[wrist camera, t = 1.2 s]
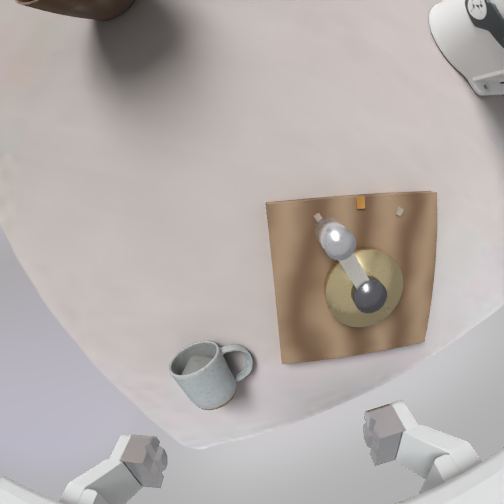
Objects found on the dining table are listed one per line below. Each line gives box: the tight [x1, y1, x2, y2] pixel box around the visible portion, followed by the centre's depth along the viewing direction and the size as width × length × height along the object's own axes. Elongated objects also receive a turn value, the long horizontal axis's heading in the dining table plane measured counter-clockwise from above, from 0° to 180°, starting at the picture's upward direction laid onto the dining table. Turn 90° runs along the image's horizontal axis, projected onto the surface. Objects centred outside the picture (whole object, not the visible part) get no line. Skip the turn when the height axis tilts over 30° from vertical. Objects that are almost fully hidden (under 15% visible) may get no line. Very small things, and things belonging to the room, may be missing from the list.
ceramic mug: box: [169, 341, 253, 410], centre depth 38 cm, size 11×8×8 cm
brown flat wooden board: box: [266, 191, 437, 364], centre depth 36 cm, size 22×22×2 cm
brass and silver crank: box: [315, 217, 403, 327], centre depth 31 cm, size 10×16×8 cm, turn 37°
